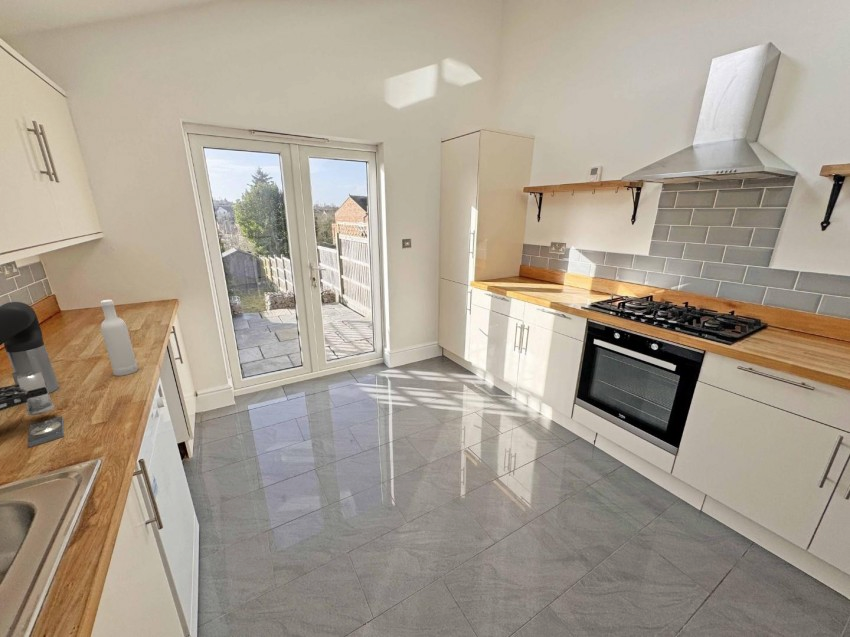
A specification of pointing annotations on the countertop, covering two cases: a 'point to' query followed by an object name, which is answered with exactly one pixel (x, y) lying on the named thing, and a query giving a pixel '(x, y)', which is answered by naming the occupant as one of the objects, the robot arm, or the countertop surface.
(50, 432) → the base plate
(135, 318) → the countertop surface
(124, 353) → the bottle
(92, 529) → the countertop surface
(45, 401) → the flanged metal cylinder
